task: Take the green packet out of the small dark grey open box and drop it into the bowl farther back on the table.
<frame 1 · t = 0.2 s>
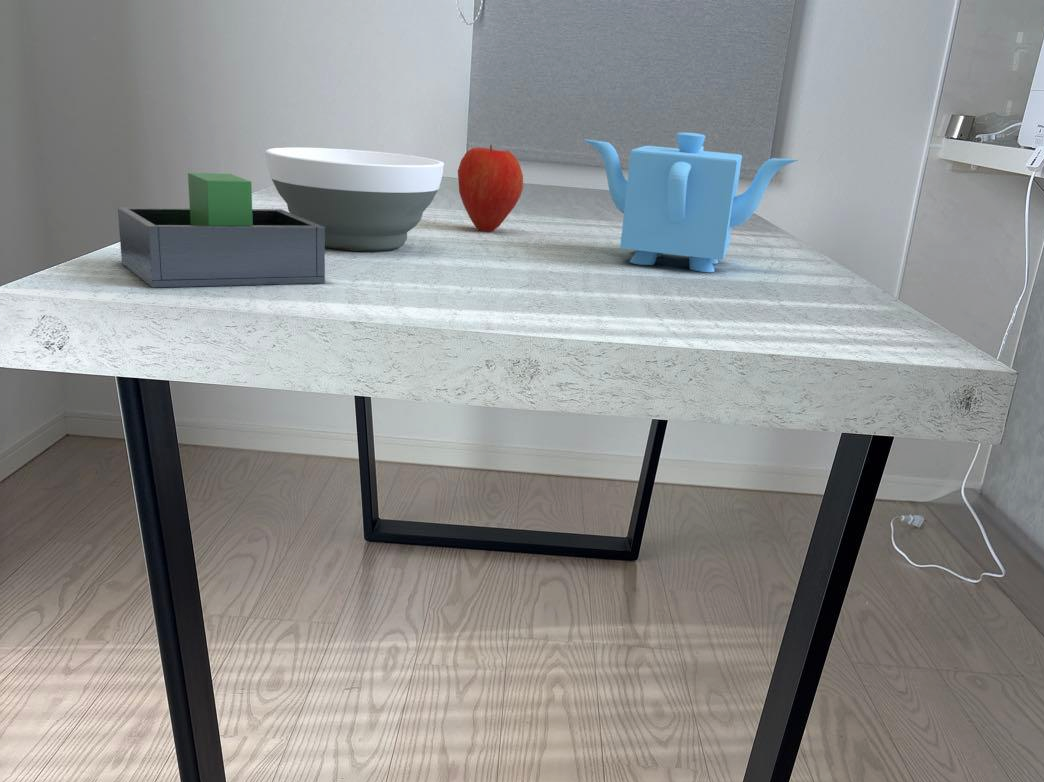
dark grey open box: (223, 273, 99), on the table
teakettle: (675, 262, 129), on the table
apple: (487, 232, 141), on the table
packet: (222, 266, 99), point 1 cm above the table, touching dark grey open box
bowl: (355, 245, 121), on the table
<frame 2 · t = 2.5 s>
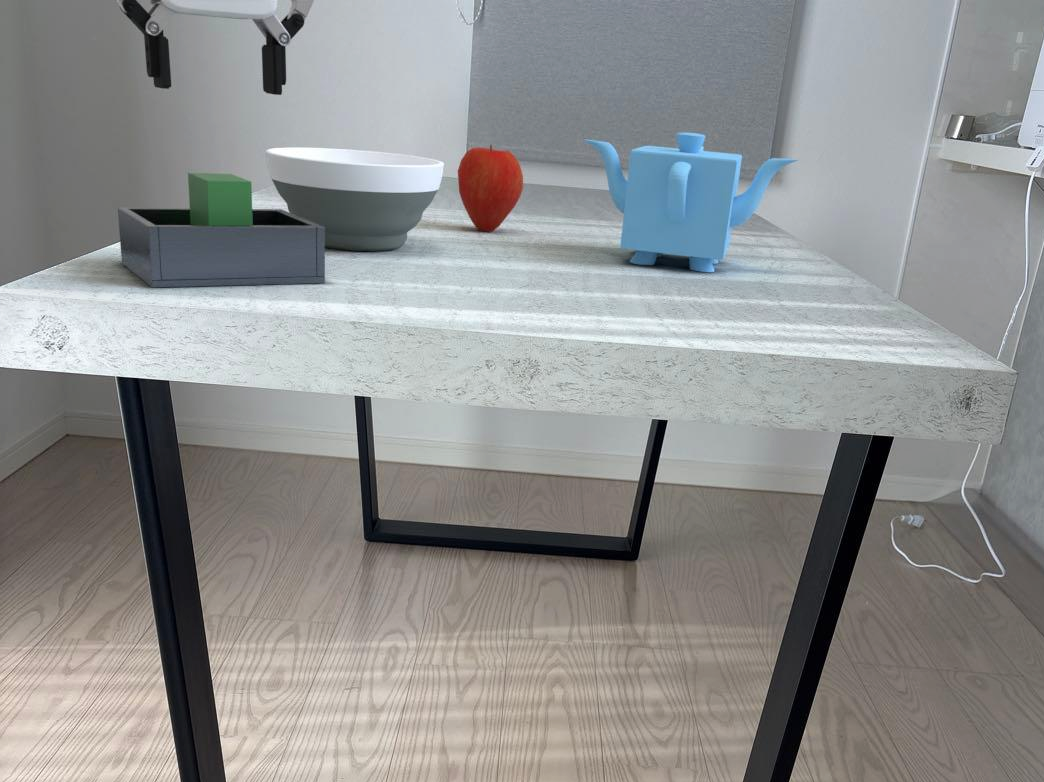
hand: (219, 90, 93), 16 cm above the table, tool pointing down, fingers open, 9 cm apart
nothing on the table moved.
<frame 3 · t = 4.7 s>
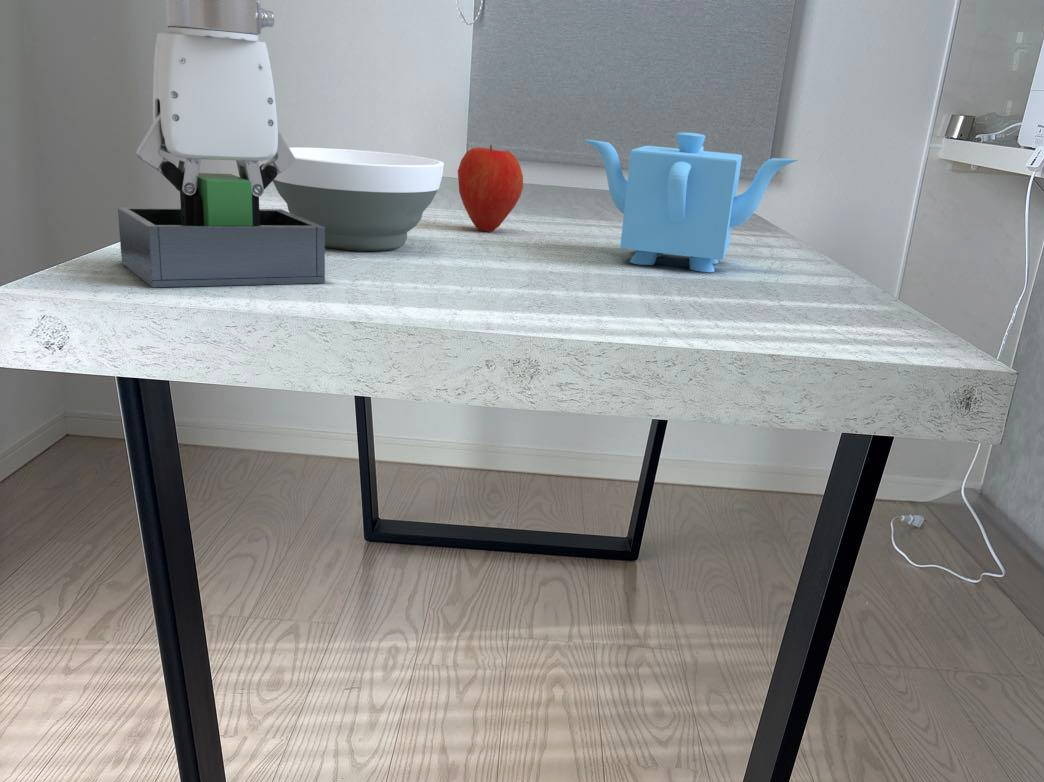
hand: (221, 237, 97), 3 cm above the table, tool pointing down, fingers closed on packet, 4 cm apart
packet: (222, 266, 99), point 1 cm above the table, touching gripper, dark grey open box
everything else where it was.
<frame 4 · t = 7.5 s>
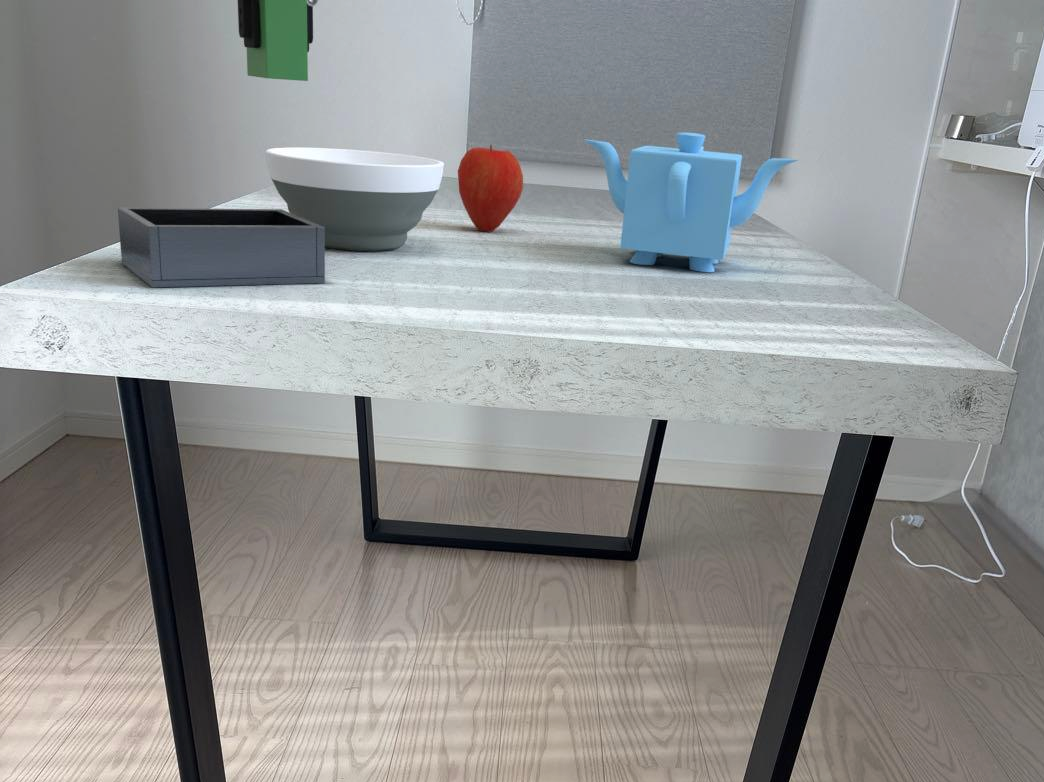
hand: (276, 47, 101), 20 cm above the table, tool pointing down, fingers closed on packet, 4 cm apart
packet: (277, 78, 102), point 17 cm above the table, touching gripper
everything else where it was.
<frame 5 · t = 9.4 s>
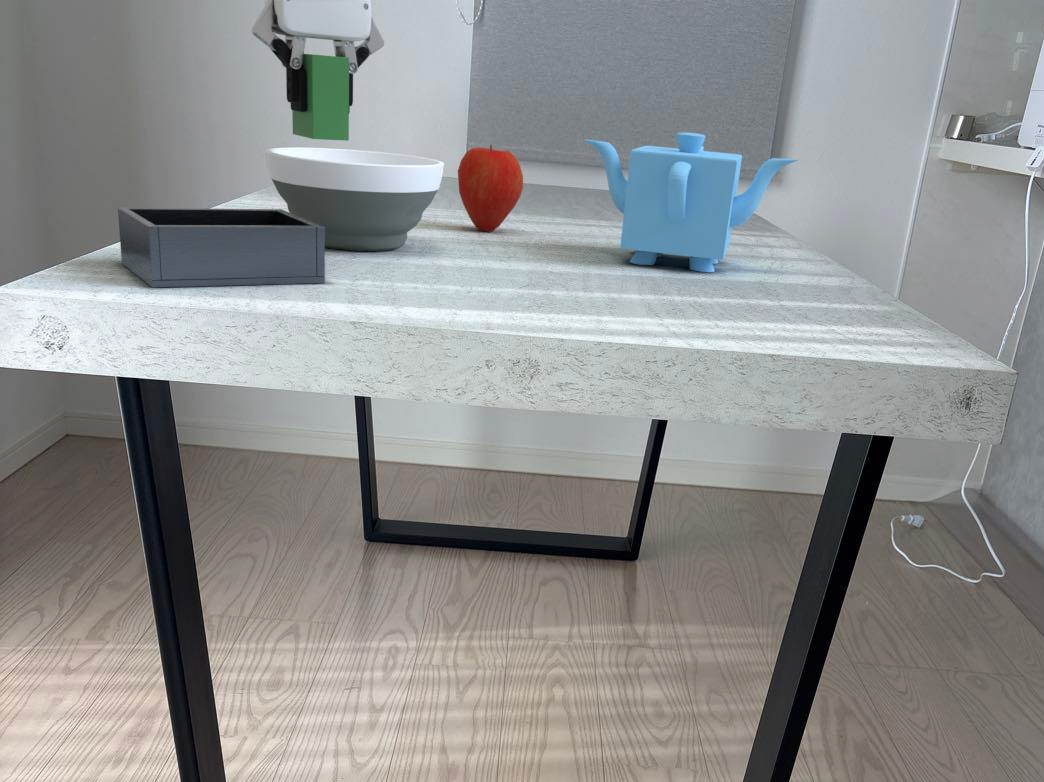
hand: (320, 110, 112), 14 cm above the table, tool pointing down, fingers closed on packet, 4 cm apart
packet: (320, 137, 113), point 11 cm above the table, touching gripper
everything else where it was.
when the fingers open (12 cm above the table, at t = 10.3 s): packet stays where it is, resting on bowl.
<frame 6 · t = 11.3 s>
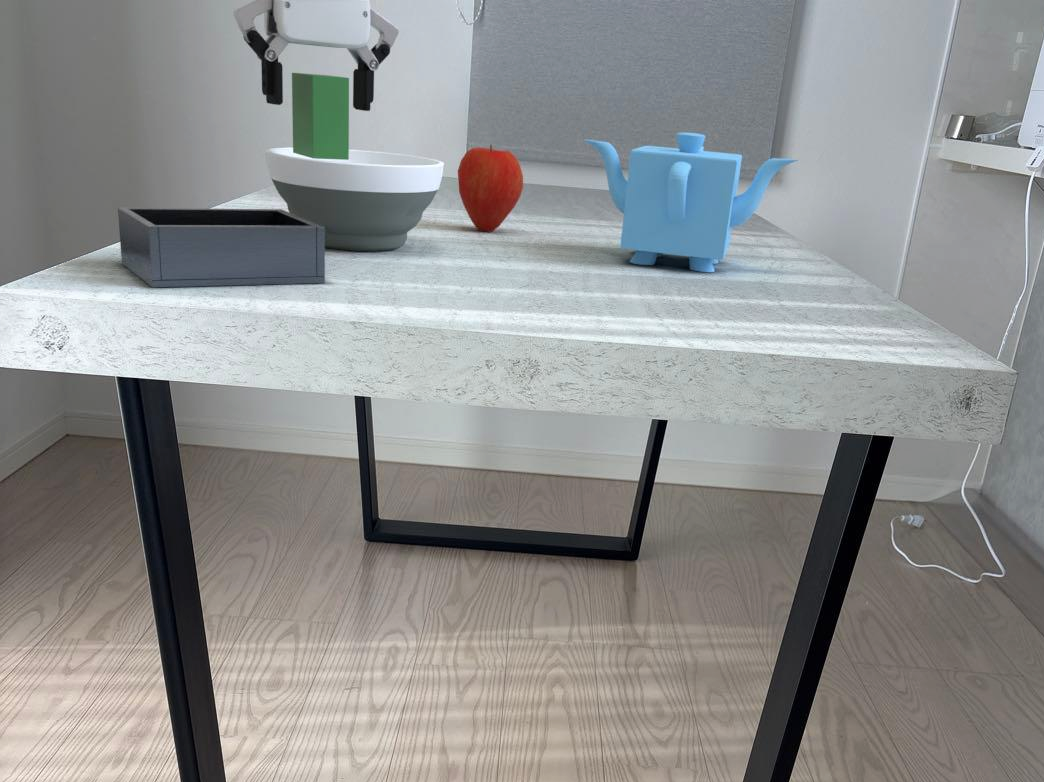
hand: (318, 107, 111), 14 cm above the table, tool pointing down, fingers open, 9 cm apart
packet: (320, 156, 113), point 10 cm above the table, touching bowl
bowl: (355, 245, 121), on the table, touching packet
everything else where it was.
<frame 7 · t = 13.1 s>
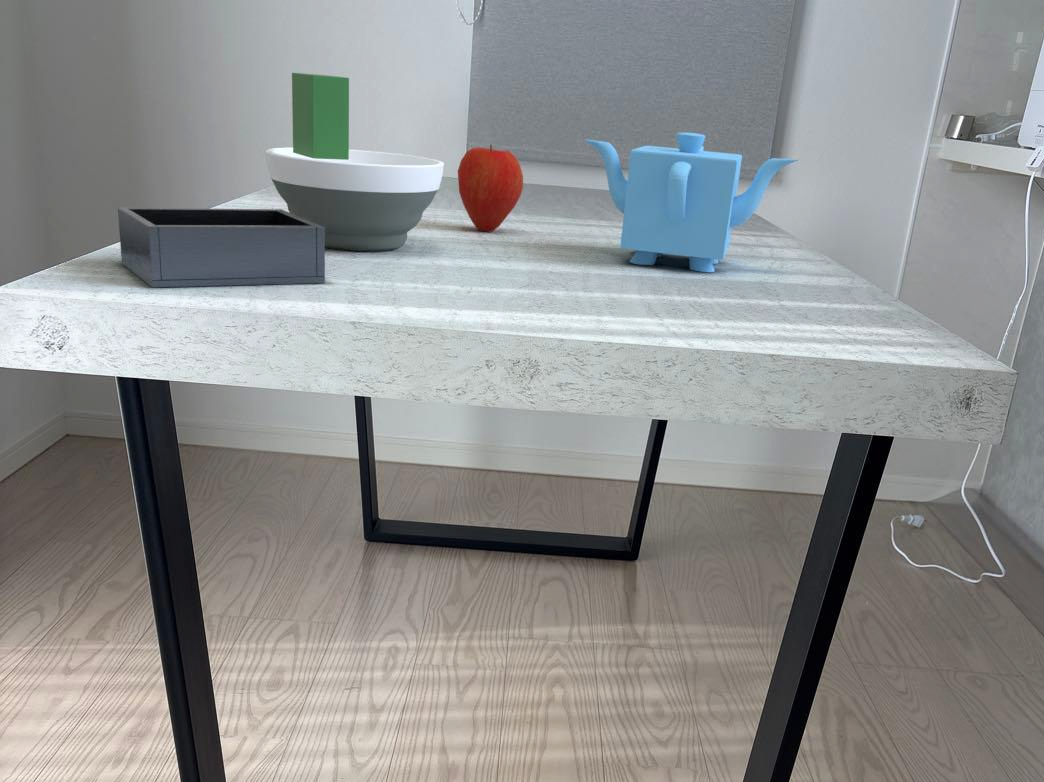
nothing on the table moved.
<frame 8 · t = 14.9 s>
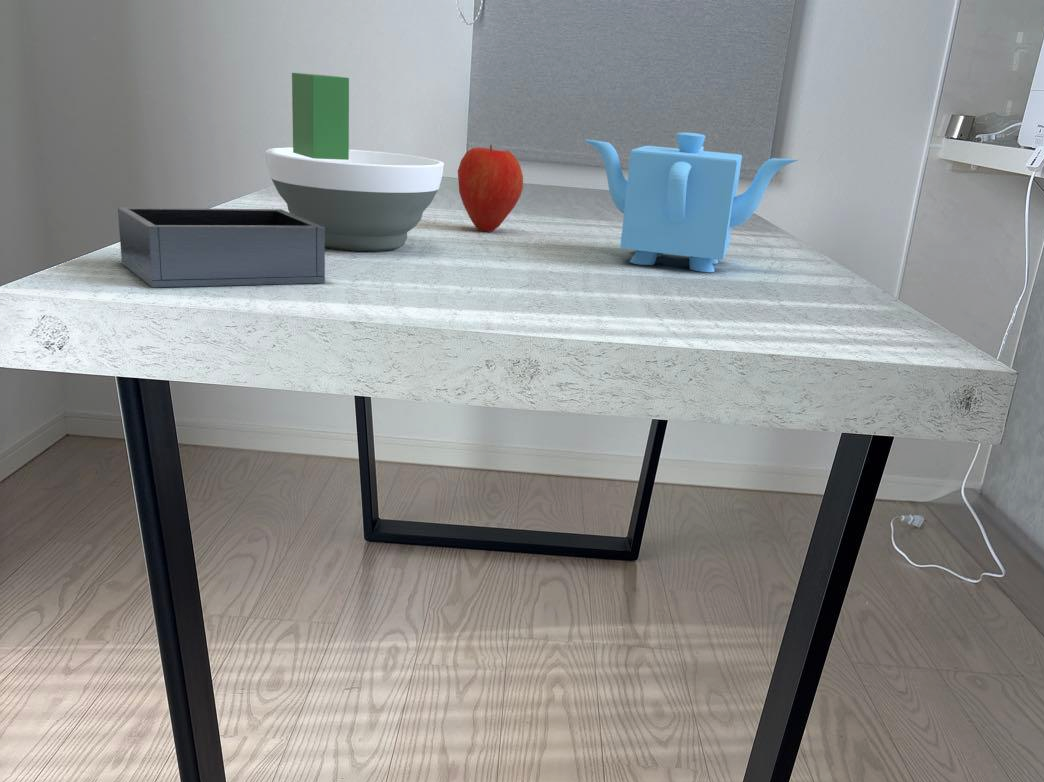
nothing on the table moved.
at the end: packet 5.3 cm from the bowl (horizontally); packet moved 22.4 cm from its start; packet touching bowl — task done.
